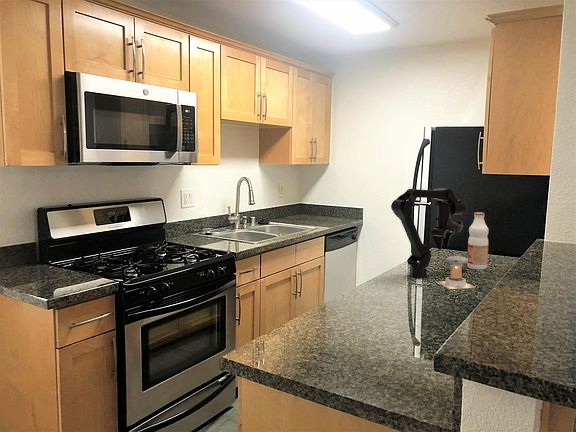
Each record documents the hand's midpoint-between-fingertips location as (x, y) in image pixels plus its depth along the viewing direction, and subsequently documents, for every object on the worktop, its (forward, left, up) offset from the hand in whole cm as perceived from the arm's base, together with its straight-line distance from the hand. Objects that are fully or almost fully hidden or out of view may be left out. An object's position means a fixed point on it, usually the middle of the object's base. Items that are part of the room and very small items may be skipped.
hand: (442, 248), depth 217 cm
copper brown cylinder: (-4, -20, -12) cm, 24 cm away
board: (-4, -20, -13) cm, 24 cm away
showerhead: (+12, +8, -13) cm, 20 cm away
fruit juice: (+25, +12, -13) cm, 31 cm away
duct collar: (-4, -20, -12) cm, 24 cm away
